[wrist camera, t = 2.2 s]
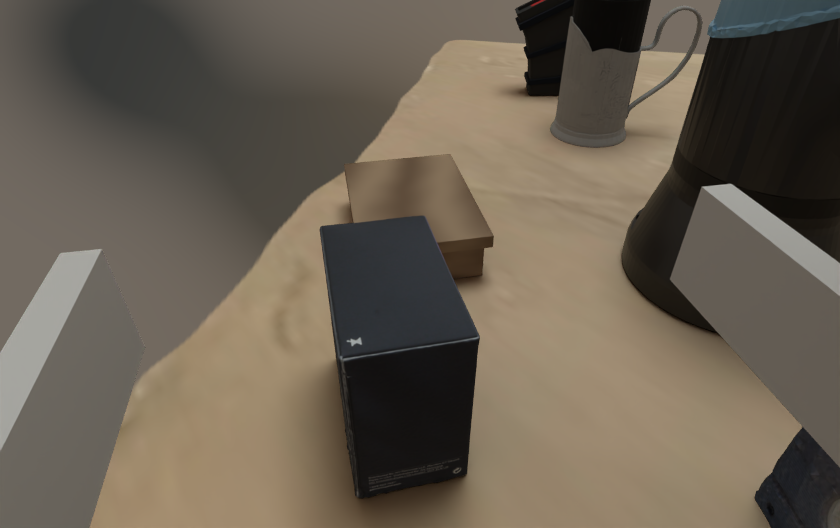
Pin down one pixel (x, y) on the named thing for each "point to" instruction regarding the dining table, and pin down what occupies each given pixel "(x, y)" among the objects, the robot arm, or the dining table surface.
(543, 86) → the magazine
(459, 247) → the walnut stand
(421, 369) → the small box
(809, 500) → the vhs cassette tape
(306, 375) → the dining table surface
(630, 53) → the glass holder
